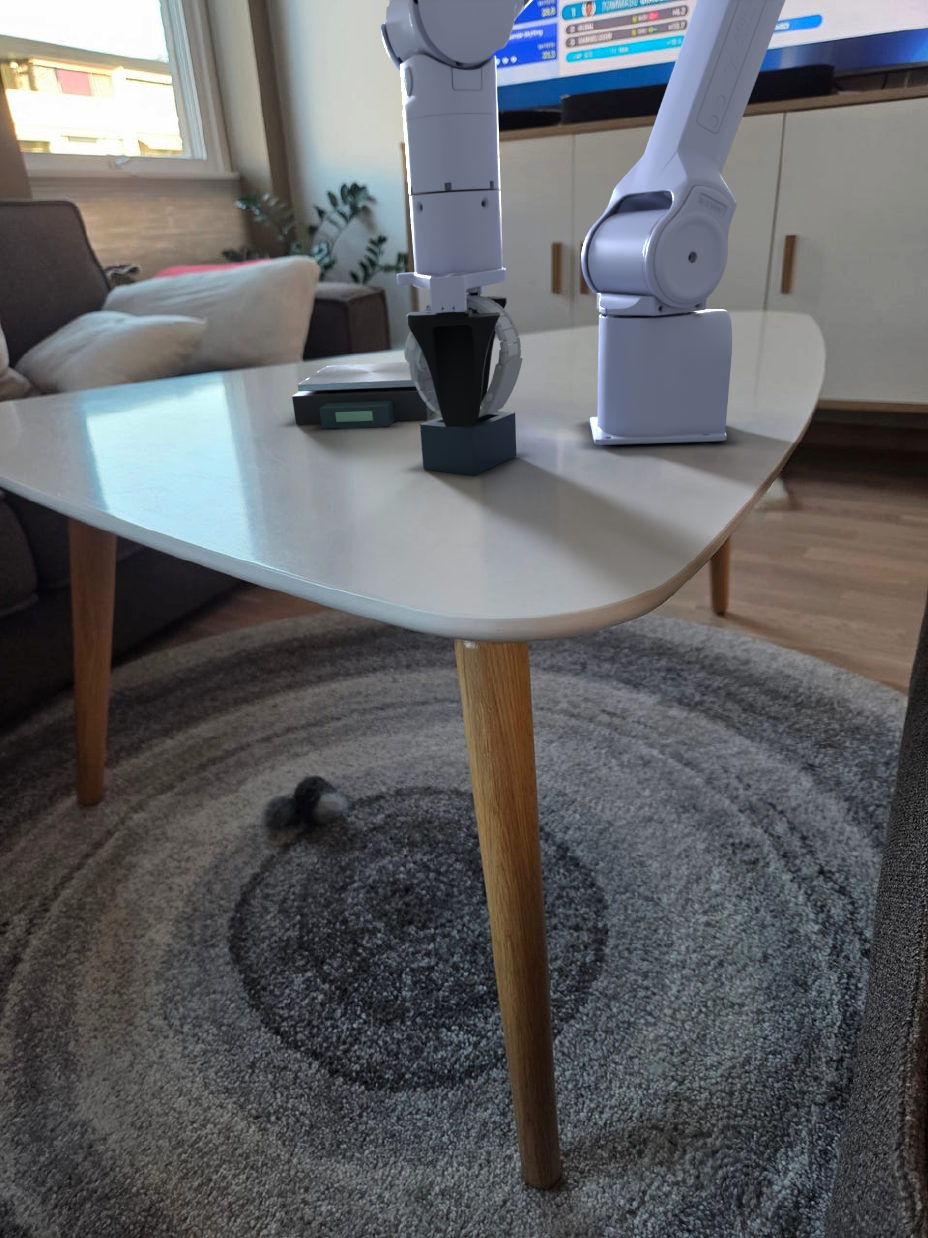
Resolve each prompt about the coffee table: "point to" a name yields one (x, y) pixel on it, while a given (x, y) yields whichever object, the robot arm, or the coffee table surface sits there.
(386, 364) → the scale pan
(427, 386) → the watch
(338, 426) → the scale
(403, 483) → the coffee table surface
